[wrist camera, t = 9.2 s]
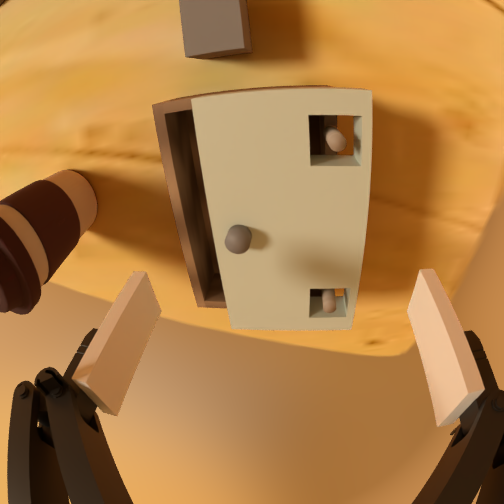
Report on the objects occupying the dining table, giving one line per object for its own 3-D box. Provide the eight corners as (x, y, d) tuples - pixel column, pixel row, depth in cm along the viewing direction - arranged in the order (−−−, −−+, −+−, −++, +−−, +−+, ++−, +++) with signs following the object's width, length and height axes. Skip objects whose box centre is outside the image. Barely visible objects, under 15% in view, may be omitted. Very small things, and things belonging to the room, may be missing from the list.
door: (203, 95, 17) (185, 100, 14) (362, 88, 15) (376, 91, 13) (236, 308, 27) (229, 337, 24) (348, 308, 25) (352, 338, 22)
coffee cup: (108, 162, 26) (-4, 244, 13) (111, 245, 31) (36, 343, 19) (40, 153, 26) (-61, 218, 13) (49, 227, 31) (-27, 304, 19)
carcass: (177, 98, 22) (130, 111, 15) (328, 85, 20) (345, 89, 13) (210, 274, 32) (189, 330, 25) (327, 274, 30) (332, 334, 23)
